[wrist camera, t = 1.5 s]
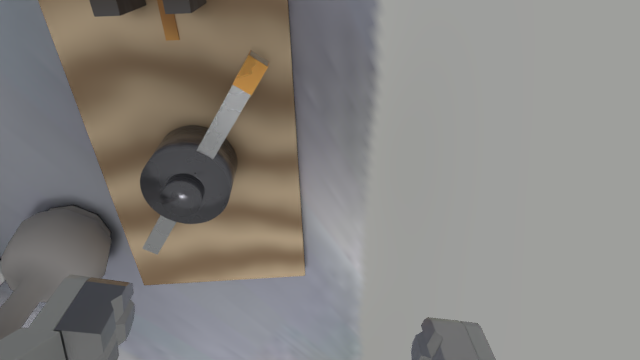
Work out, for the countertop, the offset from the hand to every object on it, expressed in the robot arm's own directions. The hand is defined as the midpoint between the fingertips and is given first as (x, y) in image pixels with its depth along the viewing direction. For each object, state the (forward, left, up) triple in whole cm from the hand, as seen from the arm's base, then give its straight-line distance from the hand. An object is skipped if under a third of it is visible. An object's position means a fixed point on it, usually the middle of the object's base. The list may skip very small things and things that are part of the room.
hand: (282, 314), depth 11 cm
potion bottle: (-28, +8, -26) cm, 39 cm away
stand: (-12, +2, -26) cm, 28 cm away
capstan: (-10, +2, -24) cm, 26 cm away
